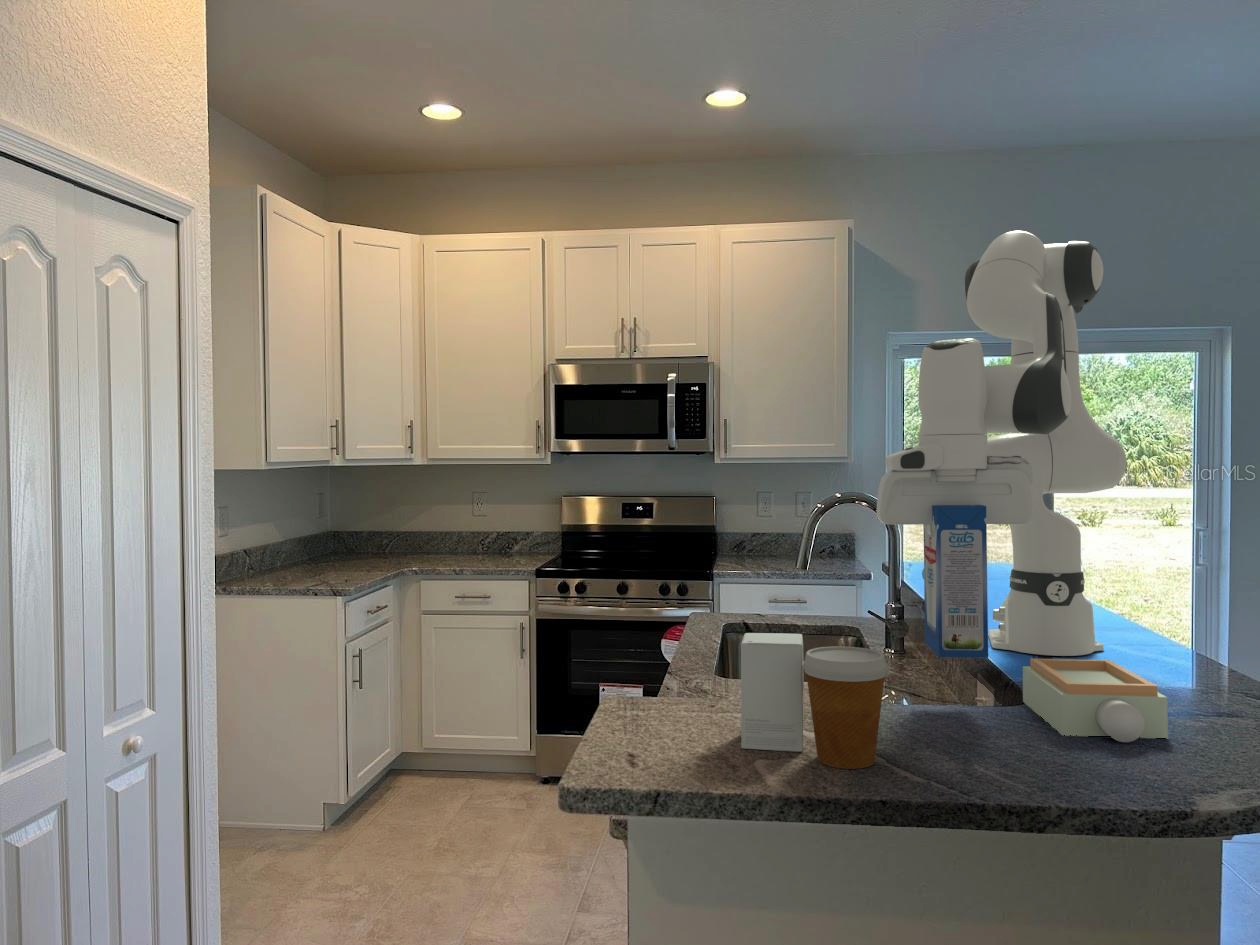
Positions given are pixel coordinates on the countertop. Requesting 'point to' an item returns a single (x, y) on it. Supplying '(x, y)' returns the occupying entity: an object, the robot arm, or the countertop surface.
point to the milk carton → (956, 582)
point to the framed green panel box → (1095, 699)
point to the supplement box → (772, 691)
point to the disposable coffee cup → (845, 703)
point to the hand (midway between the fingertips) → (953, 557)
